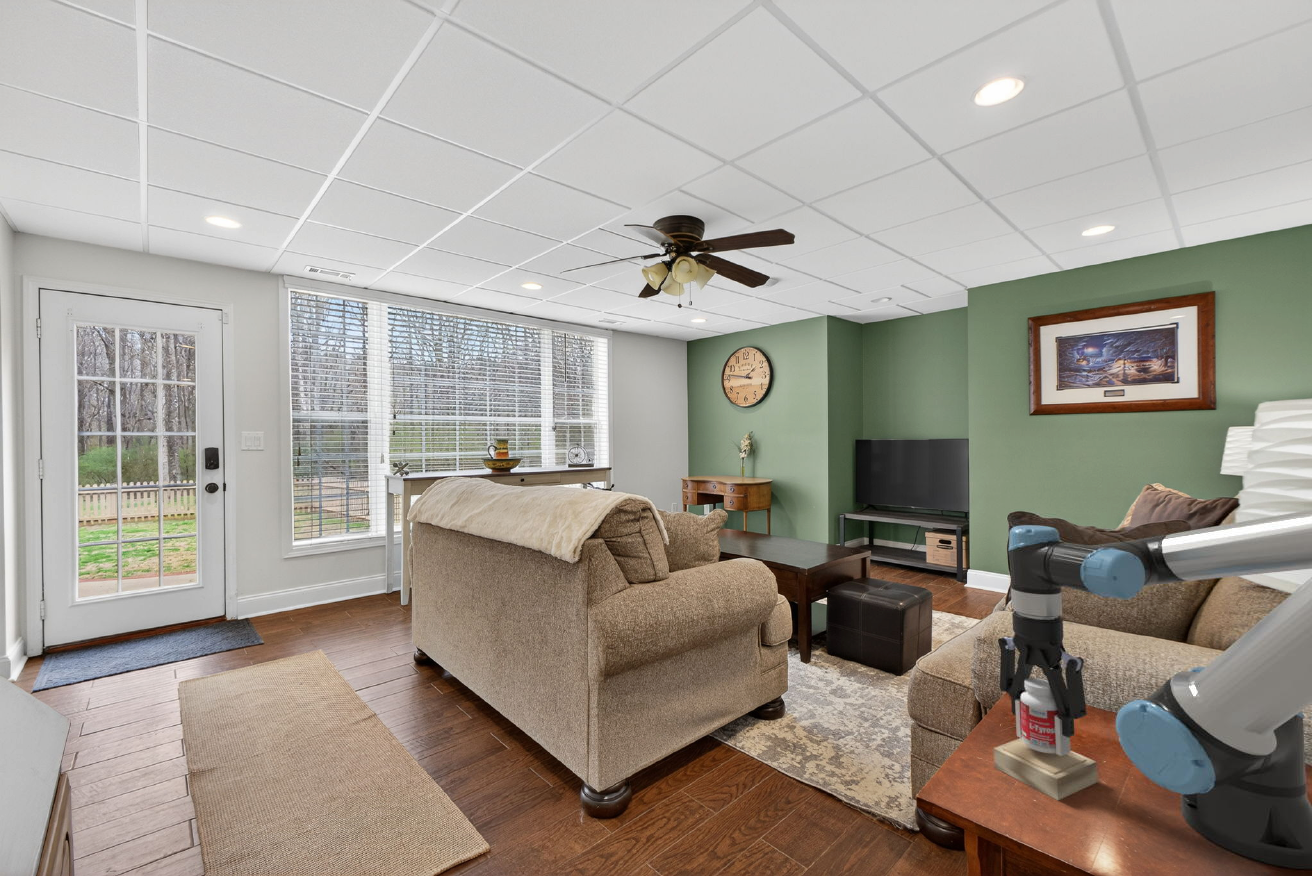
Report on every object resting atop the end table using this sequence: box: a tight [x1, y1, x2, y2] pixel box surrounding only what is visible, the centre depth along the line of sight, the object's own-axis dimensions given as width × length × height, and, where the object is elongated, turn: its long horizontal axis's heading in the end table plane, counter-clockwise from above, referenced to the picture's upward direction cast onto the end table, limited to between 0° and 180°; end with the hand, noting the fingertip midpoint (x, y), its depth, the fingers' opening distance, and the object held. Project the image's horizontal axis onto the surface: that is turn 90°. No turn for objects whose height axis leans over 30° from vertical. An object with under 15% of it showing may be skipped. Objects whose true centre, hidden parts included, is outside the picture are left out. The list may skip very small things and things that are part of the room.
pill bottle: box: [1021, 677, 1059, 753], centre depth 101 cm, size 6×6×11 cm
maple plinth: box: [993, 737, 1098, 801], centre depth 101 cm, size 11×11×4 cm
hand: (1042, 743), depth 101 cm, fingers closed on pill bottle, 6 cm apart
